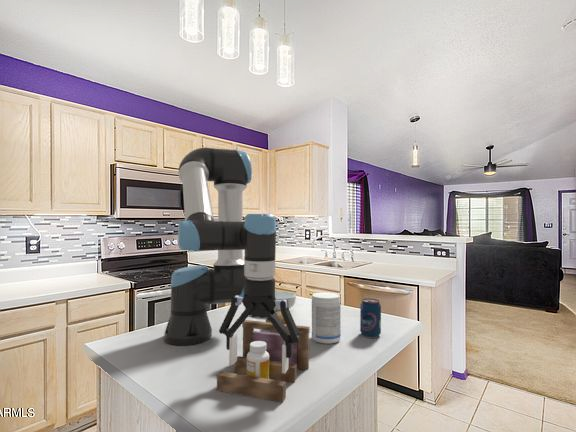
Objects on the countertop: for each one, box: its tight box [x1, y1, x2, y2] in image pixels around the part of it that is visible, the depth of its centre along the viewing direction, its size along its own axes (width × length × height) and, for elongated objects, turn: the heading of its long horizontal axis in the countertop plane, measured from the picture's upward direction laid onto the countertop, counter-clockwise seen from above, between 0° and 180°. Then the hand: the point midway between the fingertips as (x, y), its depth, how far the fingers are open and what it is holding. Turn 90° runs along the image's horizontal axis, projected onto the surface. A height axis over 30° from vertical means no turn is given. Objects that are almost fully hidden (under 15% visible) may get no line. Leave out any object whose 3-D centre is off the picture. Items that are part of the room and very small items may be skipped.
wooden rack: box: [216, 319, 311, 403], centre depth 82 cm, size 19×19×11 cm
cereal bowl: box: [274, 290, 297, 312], centre depth 143 cm, size 17×17×7 cm
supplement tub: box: [311, 292, 342, 345], centre depth 109 cm, size 10×10×15 cm
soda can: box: [359, 298, 382, 339], centre depth 113 cm, size 7×7×12 cm
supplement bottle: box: [247, 341, 270, 379], centre depth 78 cm, size 5×5×10 cm
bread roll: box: [265, 311, 286, 333], centre depth 119 cm, size 10×10×8 cm
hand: (258, 366), depth 78 cm, fingers open, 13 cm apart
